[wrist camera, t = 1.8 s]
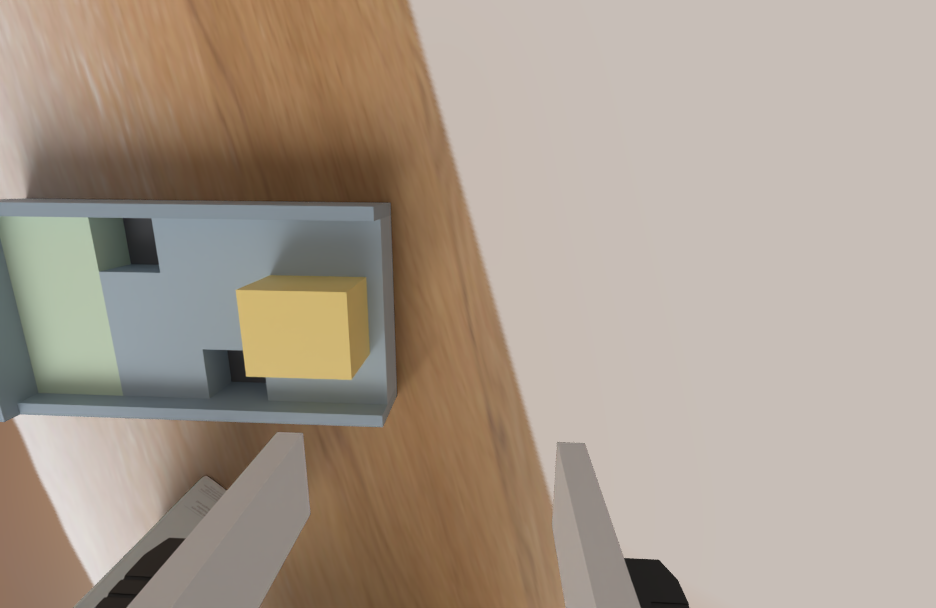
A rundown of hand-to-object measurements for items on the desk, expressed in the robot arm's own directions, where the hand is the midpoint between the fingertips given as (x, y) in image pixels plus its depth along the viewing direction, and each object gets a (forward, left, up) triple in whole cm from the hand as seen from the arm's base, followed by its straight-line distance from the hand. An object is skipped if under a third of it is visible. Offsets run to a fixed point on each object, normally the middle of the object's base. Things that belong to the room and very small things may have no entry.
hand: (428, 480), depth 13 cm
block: (0, +9, -16) cm, 18 cm away
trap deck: (0, +17, -19) cm, 26 cm away
